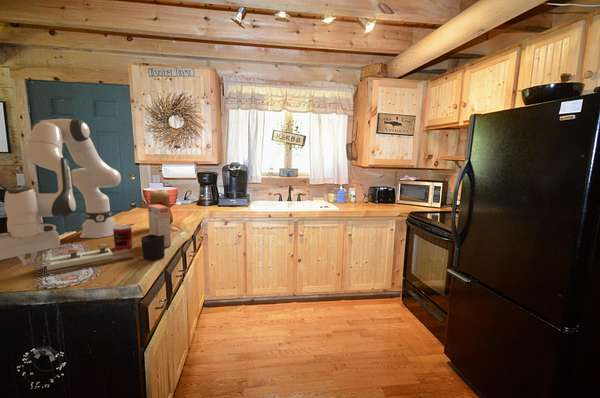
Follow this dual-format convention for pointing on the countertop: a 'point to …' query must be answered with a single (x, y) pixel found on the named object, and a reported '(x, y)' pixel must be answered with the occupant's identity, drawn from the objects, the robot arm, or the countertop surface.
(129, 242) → the canned food
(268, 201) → the countertop surface
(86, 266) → the board
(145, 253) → the pen holder
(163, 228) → the cracker box
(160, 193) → the butternut squash
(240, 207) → the countertop surface
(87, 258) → the panel
